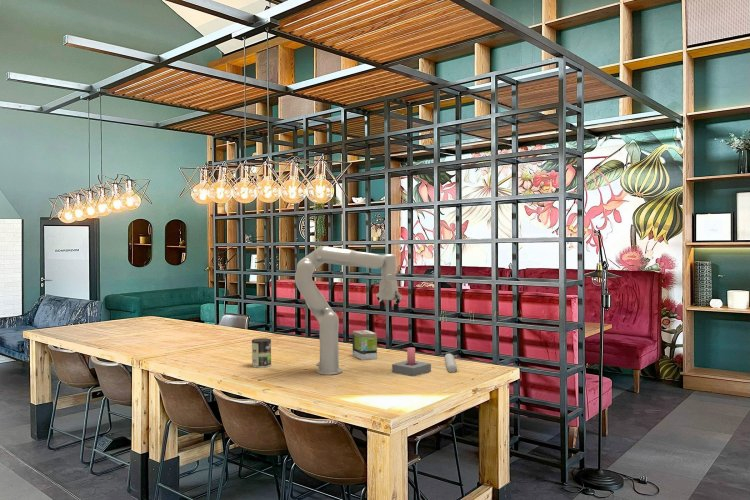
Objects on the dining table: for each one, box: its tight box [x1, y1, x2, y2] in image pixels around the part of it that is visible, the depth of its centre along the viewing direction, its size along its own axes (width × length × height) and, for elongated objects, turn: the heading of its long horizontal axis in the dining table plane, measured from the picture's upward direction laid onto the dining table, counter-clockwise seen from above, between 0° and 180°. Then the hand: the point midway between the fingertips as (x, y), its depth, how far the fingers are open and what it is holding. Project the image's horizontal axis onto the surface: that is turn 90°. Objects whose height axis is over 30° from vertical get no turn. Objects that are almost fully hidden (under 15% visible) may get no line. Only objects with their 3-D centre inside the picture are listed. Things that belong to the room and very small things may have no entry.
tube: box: [444, 353, 458, 373], centre depth 302 cm, size 5×5×25 cm
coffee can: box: [251, 337, 272, 369], centre depth 311 cm, size 10×10×14 cm
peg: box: [406, 347, 416, 365], centre depth 293 cm, size 4×4×12 cm
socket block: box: [391, 360, 432, 377], centre depth 293 cm, size 14×14×4 cm
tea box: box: [351, 329, 378, 361], centre depth 331 cm, size 15×10×15 cm
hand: (389, 310), depth 300 cm, fingers open, 9 cm apart
